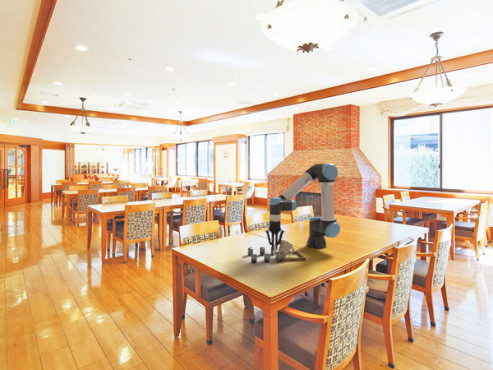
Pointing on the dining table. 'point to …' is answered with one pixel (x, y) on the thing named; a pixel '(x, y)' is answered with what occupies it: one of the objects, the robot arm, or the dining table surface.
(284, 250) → the mug
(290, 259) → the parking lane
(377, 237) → the dining table surface
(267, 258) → the spacer field
